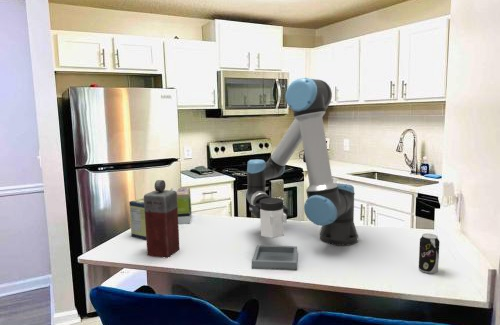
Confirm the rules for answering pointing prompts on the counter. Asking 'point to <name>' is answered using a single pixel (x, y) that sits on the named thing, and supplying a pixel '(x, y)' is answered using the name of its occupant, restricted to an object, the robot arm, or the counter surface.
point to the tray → (275, 257)
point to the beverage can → (429, 253)
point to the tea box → (183, 205)
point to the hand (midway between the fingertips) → (278, 219)
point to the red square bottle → (161, 221)
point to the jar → (276, 210)
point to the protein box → (137, 218)
